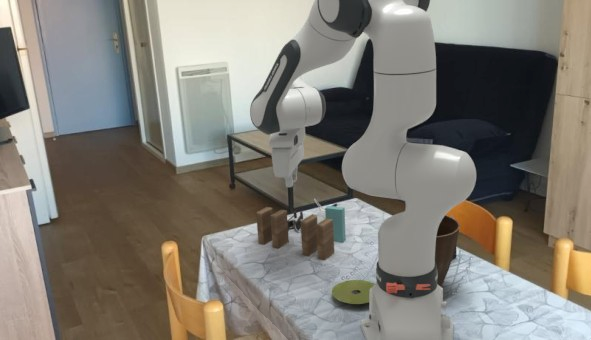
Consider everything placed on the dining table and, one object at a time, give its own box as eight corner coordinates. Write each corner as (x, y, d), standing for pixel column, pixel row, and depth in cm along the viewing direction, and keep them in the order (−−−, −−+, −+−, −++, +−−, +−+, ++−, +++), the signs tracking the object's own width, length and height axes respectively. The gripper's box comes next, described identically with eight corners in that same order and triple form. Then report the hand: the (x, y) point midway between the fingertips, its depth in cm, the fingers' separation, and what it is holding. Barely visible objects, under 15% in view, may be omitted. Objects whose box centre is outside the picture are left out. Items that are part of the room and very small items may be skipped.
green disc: (345, 283, 138) (345, 275, 137) (389, 292, 132) (389, 285, 132) (323, 304, 129) (322, 296, 128) (368, 315, 123) (368, 307, 123)
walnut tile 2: (288, 243, 163) (286, 210, 160) (278, 250, 159) (276, 216, 156) (283, 242, 164) (281, 209, 161) (272, 248, 160) (270, 215, 157)
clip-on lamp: (314, 213, 185) (283, 233, 171) (313, 194, 184) (281, 214, 170) (346, 217, 179) (316, 239, 165) (345, 198, 177) (314, 218, 163)
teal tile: (329, 238, 164) (327, 205, 162) (345, 240, 162) (344, 207, 160) (326, 241, 163) (325, 208, 160) (343, 243, 161) (341, 209, 158)
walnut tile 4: (318, 250, 157) (317, 216, 154) (308, 257, 153) (306, 222, 150) (312, 249, 158) (310, 215, 155) (302, 255, 154) (300, 221, 151)
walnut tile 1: (274, 240, 165) (272, 207, 163) (264, 246, 161) (261, 213, 159) (269, 239, 166) (266, 206, 164) (258, 245, 163) (256, 212, 160)
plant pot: (465, 279, 136) (467, 216, 132) (447, 309, 124) (448, 240, 120) (405, 268, 144) (405, 208, 139) (382, 294, 131) (381, 230, 127)
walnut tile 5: (334, 254, 154) (333, 219, 151) (324, 261, 150) (323, 225, 147) (328, 252, 155) (326, 218, 152) (318, 259, 151) (316, 224, 149)
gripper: (285, 124, 159) (288, 172, 163) (266, 142, 140) (270, 196, 144) (308, 124, 158) (310, 172, 162) (291, 142, 139) (294, 196, 143)
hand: (291, 183), depth 153 cm, fingers open, 3 cm apart
